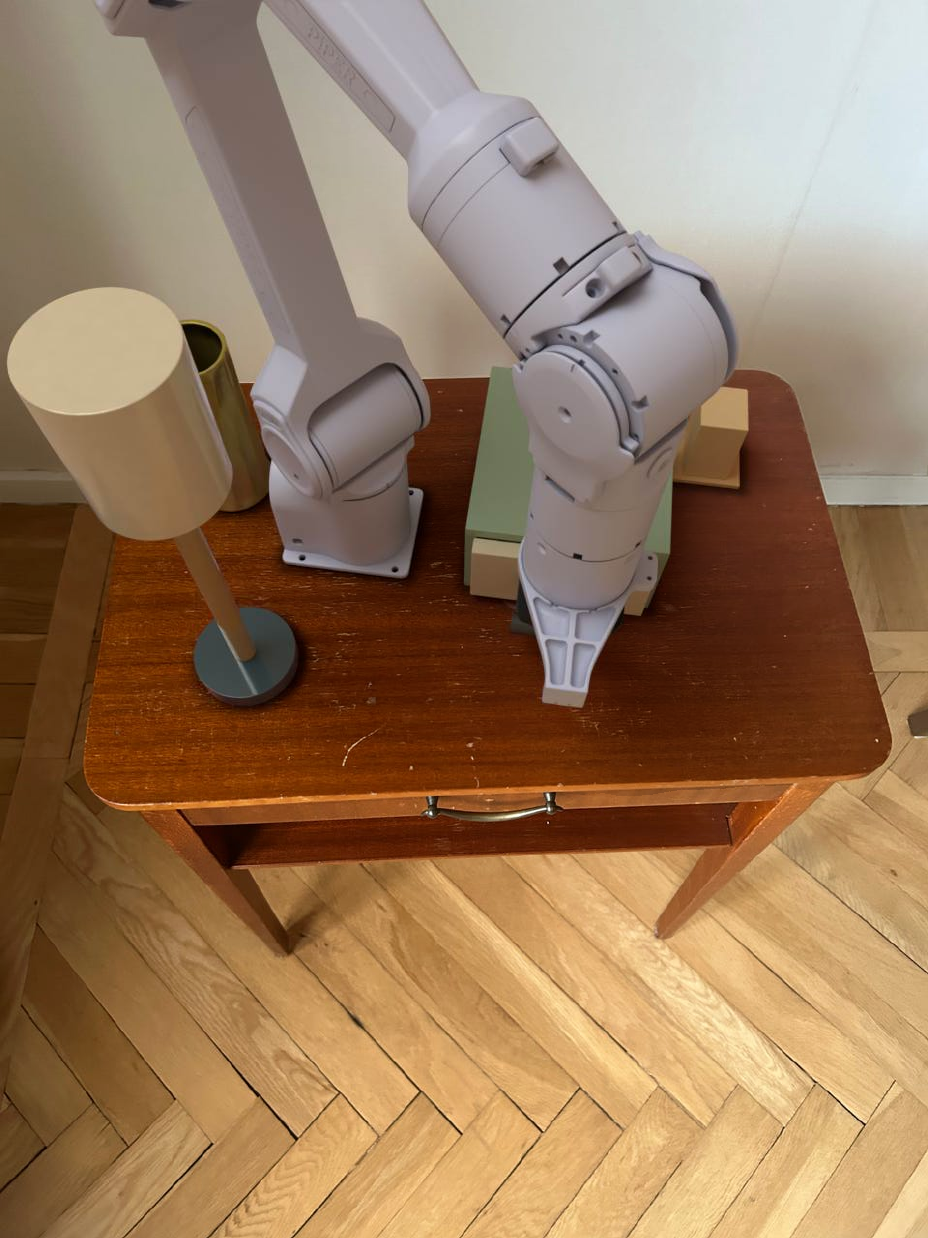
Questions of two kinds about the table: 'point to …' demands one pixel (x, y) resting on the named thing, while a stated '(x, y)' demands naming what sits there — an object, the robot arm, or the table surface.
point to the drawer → (515, 579)
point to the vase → (229, 415)
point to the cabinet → (524, 479)
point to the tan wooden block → (716, 434)
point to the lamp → (148, 458)
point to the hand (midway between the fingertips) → (559, 639)
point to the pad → (730, 482)
